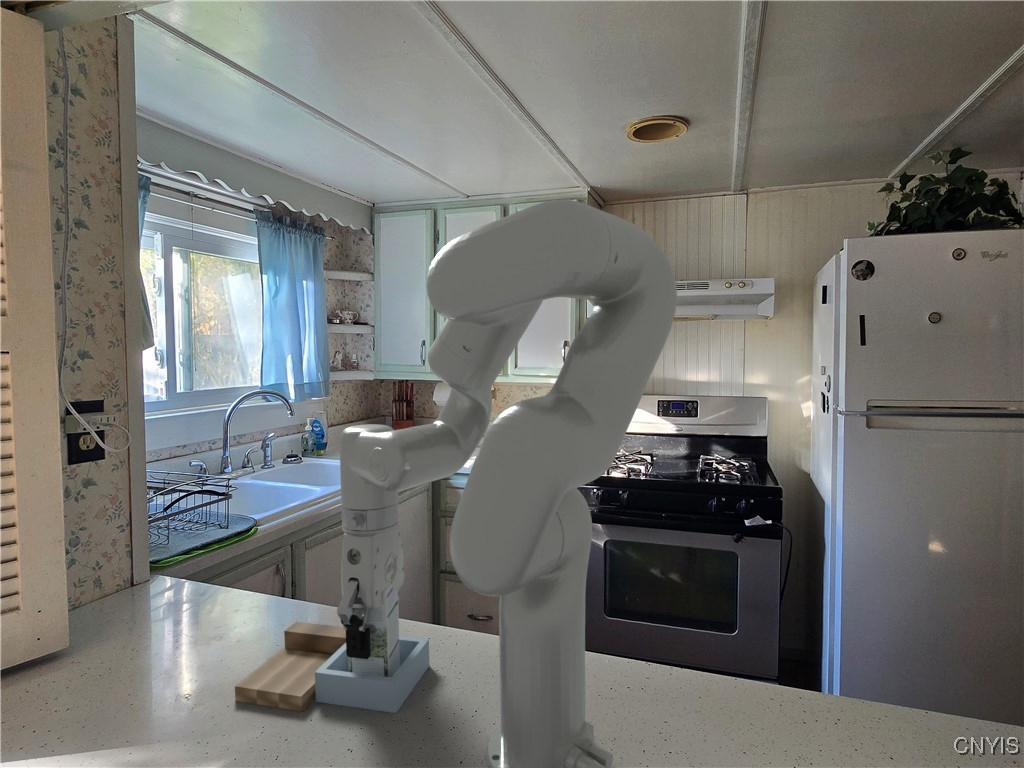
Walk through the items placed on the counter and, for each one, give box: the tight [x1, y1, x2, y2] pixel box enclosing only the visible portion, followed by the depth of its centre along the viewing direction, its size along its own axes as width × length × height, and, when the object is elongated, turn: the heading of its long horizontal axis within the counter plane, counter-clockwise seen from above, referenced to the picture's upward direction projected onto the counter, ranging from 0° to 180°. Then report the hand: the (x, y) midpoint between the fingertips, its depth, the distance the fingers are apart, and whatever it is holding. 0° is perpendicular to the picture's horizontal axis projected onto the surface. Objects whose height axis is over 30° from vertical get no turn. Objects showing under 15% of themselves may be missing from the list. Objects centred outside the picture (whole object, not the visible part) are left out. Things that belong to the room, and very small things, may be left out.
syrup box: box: [348, 586, 400, 678], centre depth 81 cm, size 6×6×14 cm
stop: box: [283, 621, 346, 655], centre depth 88 cm, size 10×3×4 cm, turn 76°
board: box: [234, 647, 332, 713], centre depth 82 cm, size 10×10×2 cm
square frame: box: [315, 635, 430, 714], centre depth 82 cm, size 11×11×4 cm
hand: (373, 640), depth 82 cm, fingers open, 8 cm apart
